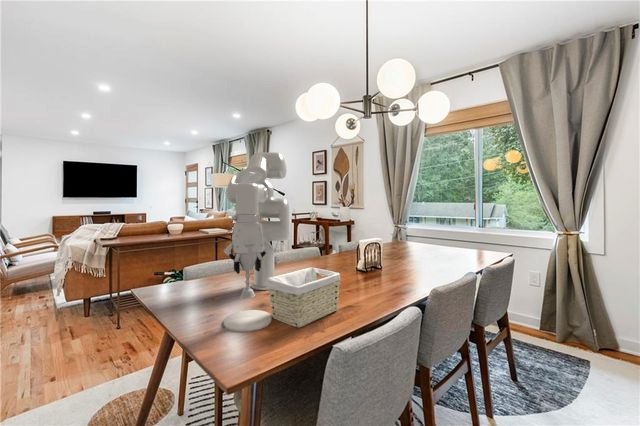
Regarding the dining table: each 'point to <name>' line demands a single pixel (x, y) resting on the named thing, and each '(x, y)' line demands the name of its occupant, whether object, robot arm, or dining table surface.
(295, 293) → the storage basket
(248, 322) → the plate
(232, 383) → the dining table surface
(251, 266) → the chalice
